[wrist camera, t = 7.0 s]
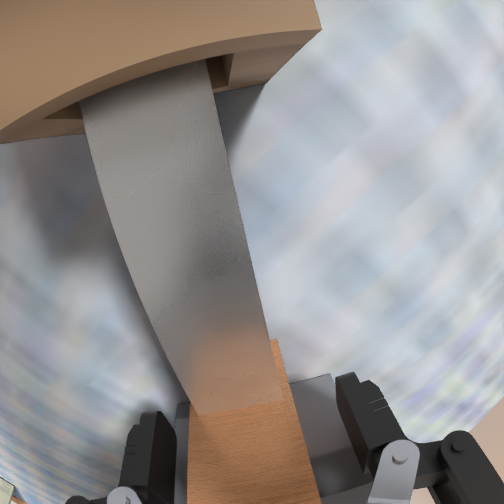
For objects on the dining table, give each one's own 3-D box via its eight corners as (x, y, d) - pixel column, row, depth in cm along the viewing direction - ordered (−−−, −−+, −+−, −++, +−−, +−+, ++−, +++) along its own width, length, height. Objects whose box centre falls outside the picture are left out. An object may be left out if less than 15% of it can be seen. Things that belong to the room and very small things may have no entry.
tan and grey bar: (104, 67, 7) (-68, 4, 1) (209, 35, 7) (196, -137, 1) (241, 455, 15) (254, 561, 8) (298, 443, 15) (325, 548, 8)
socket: (177, 404, 14) (169, 515, 8) (330, 373, 14) (374, 480, 8) (219, 468, 17) (225, 547, 11) (332, 445, 17) (358, 522, 11)
